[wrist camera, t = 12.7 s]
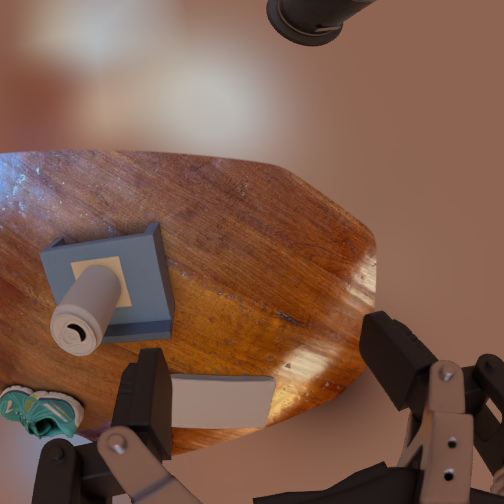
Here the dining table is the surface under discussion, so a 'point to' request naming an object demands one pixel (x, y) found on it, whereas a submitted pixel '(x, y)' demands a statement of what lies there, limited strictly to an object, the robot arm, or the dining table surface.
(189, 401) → the book
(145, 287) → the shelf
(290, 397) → the dining table surface
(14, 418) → the running shoe
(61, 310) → the beverage can
